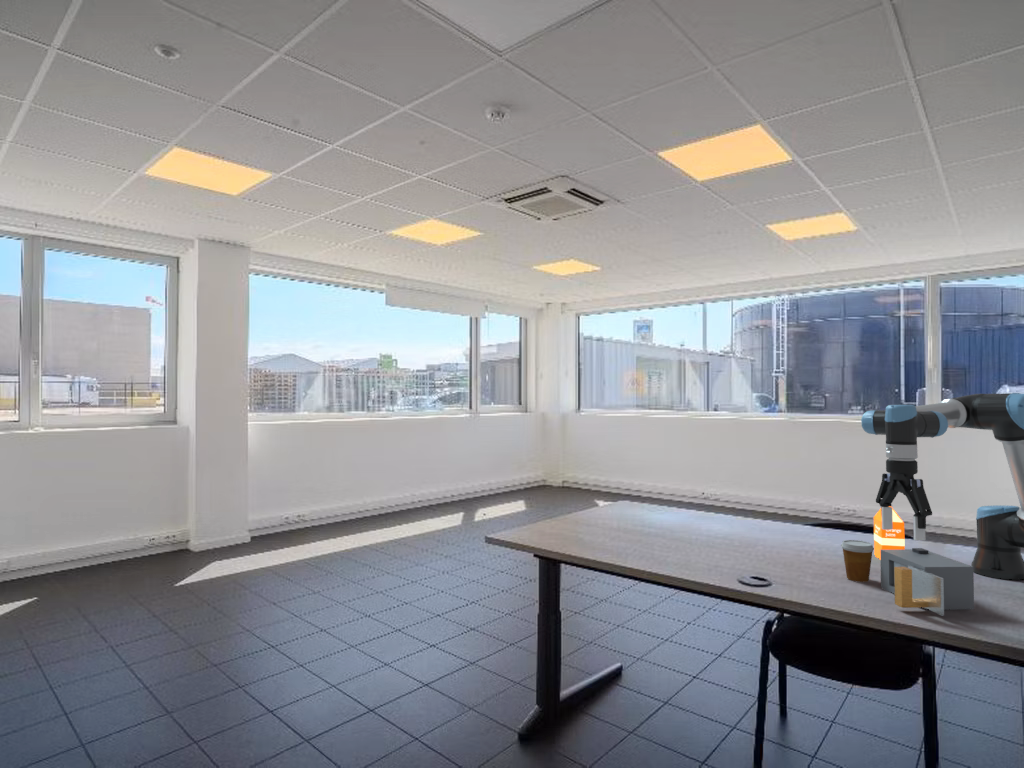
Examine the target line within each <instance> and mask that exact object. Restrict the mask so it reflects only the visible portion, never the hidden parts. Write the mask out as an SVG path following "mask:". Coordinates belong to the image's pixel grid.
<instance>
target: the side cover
mask: <svg viewBox="0 0 1024 768" xmlns="http://www.w3.org/2000/svg"><path fill="white" fill-rule="evenodd" d="M894 575H895V594H894V604H895V605H896V606H898V607H899V608H902V609H903V608H907V609H908V608H909V609H910V608H916V609H917V608H918V609H919V608H921V607H925V608H927V609H929V611H931V612H933V613H935V614H937V615H939V616H941V617H942V616H945V610H944V580H943V578H941V577H939V576H936V575H934V574H931V573H929V572H926V571H924V570H921V569H919V568H916V567H914V566H911V565H908V568H907V567H894Z"/></svg>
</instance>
